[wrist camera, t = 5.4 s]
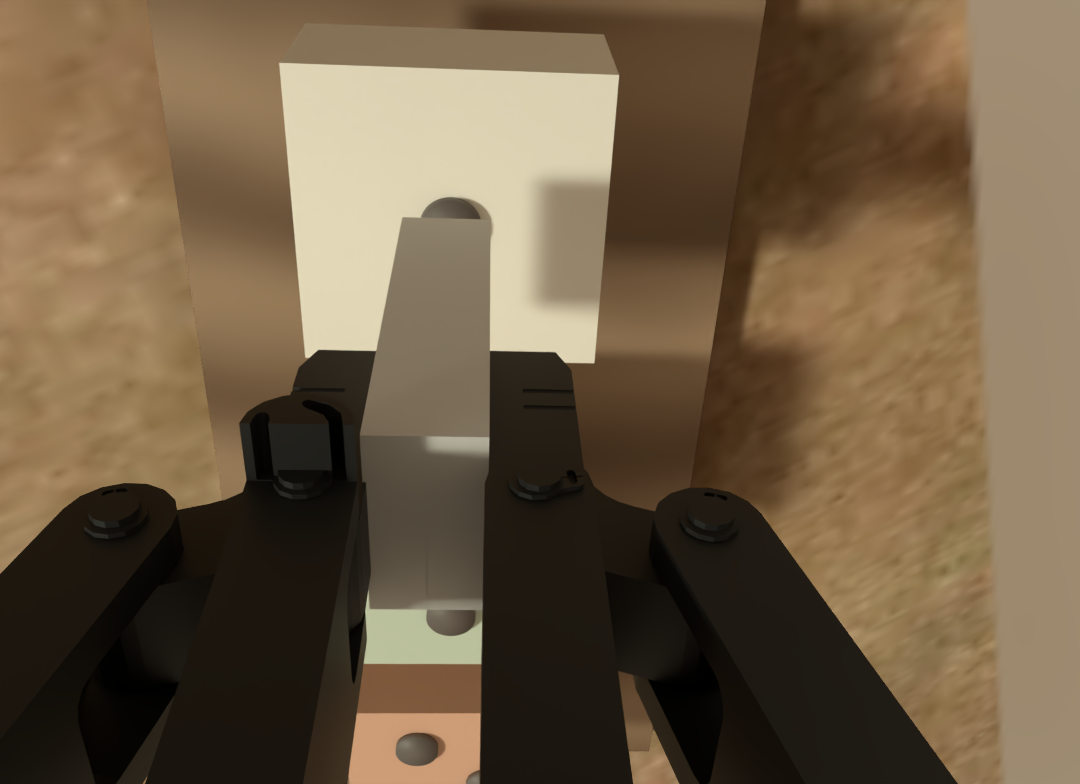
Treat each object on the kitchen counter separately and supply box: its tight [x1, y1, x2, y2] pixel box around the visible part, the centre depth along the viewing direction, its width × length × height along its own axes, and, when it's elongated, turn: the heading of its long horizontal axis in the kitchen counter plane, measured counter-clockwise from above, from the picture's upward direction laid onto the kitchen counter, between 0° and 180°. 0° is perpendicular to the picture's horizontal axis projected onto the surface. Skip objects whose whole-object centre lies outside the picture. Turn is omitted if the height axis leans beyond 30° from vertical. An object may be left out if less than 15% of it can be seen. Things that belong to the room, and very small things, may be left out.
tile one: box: [279, 23, 619, 363], centre depth 21 cm, size 6×6×3 cm
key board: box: [147, 0, 766, 751], centre depth 30 cm, size 28×14×2 cm, turn 177°
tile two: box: [364, 590, 482, 664], centre depth 26 cm, size 6×6×3 cm
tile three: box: [349, 664, 481, 784], centre depth 31 cm, size 6×6×3 cm
